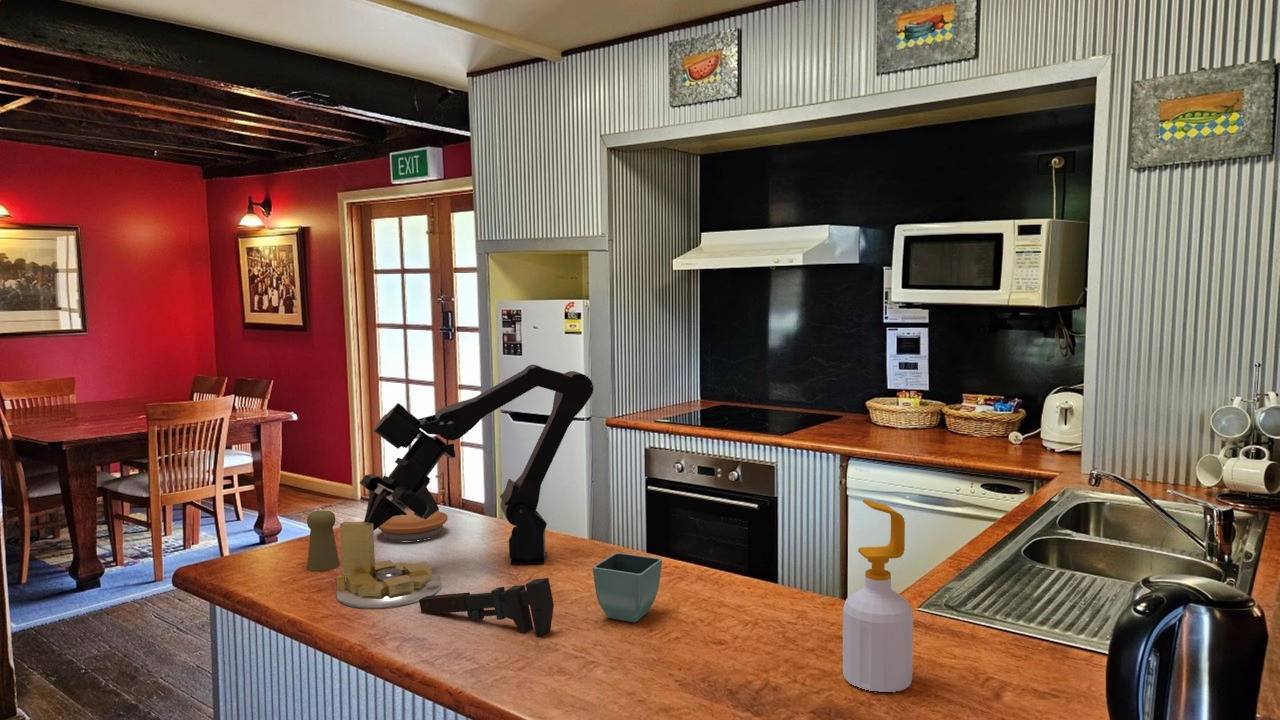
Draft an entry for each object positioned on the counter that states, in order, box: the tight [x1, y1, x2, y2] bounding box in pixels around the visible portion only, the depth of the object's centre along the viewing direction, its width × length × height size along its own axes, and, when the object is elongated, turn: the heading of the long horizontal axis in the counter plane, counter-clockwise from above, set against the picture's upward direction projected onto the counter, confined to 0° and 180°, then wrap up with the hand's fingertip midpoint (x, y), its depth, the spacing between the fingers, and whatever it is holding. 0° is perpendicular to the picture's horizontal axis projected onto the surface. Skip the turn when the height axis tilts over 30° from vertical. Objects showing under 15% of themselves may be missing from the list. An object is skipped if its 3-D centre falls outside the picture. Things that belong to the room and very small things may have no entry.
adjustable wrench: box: [418, 577, 555, 638], centre depth 139 cm, size 8×3×25 cm
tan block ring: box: [339, 521, 432, 597], centre depth 155 cm, size 16×14×10 cm
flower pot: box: [592, 552, 663, 623], centre depth 141 cm, size 9×9×9 cm
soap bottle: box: [842, 498, 914, 693], centre depth 116 cm, size 9×9×25 cm
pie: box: [377, 508, 449, 542], centre depth 190 cm, size 15×16×5 cm
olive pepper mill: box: [306, 509, 340, 573], centre depth 169 cm, size 6×6×11 cm
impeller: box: [336, 568, 442, 610], centre depth 155 cm, size 18×18×3 cm
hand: (364, 533), depth 157 cm, fingers closed
